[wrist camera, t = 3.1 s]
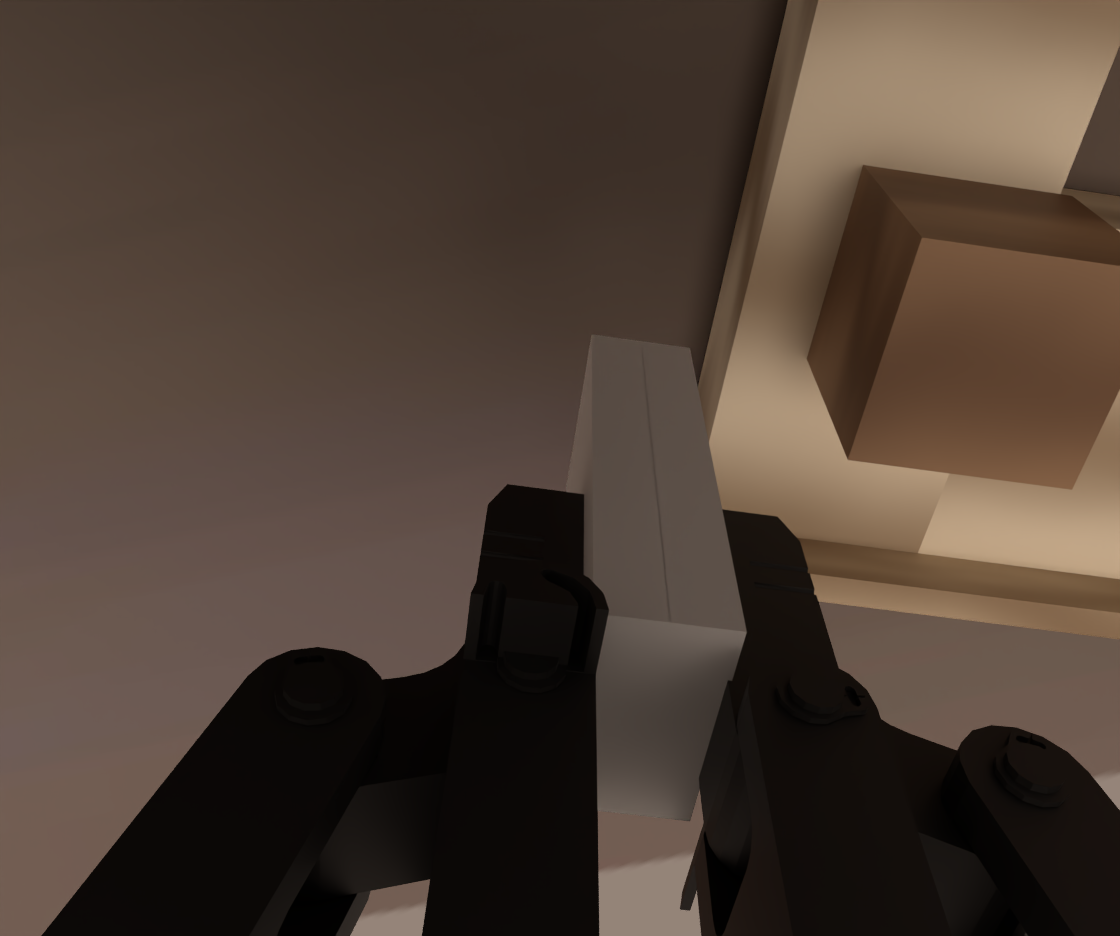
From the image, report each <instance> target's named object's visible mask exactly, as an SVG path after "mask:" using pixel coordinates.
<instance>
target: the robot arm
mask: <svg viewBox="0 0 1120 936" xmlns="http://www.w3.org/2000/svg"><path fill="white" fill-rule="evenodd" d="M814 591H815V589H814V585H813V582H812V579H811V576H810V573H808V566H807V562H806V559H805V556H804V552H803V549H802V546H801V543H800V541H799V540H798V539H797V537H796V536H795V535H794V534H793V533H792V532H791V531H790V530H789V529H788V527H787V526H786V525H785V524H784V523H783V522H782V521H781V520H780V519H779V518H778V516H770V515H762V514H755V513H747V512H739V511H731V510H724V509H722V506H721V501H720V496H719V491H718V486H717V481H716V476H715V471H714V466H713V461H712V456H711V451H710V446H709V441H708V436H707V431H706V426H705V421H704V416H703V411H702V406H701V401H700V396H699V391H698V386H697V381H696V376H695V371H694V366H693V361H692V356H691V351H690V348H688V347H681V346H674V345H666V344H659V343H652V342H644V341H637V340H630V339H623V338H615V337H608V336H601V335H593V334H592V335H591V341H590V347H589V353H588V359H587V365H586V371H585V377H584V383H583V389H582V395H581V401H580V407H579V413H578V419H577V425H576V431H575V437H574V443H573V449H572V455H571V461H570V467H569V473H568V479H567V485H566V492H563V491H555V490H547V489H540V488H532V487H524V486H517V485H509V484H507V485H506V486H505V488H504V489H503V490H502V491H501V492H500V493H499V494H498V495H497V496H496V497H495V498H494V499H493V500H492V501H491V502H490V503H489V504H488V508H487V515H486V522H485V528H484V535H483V541H482V548H481V555H480V561H479V568H478V574H477V581H476V584H475V586H474V588H473V590H472V592H471V597H470V606H469V614H468V623H467V631H466V640H465V644H464V645H463V646H462V648H461V649H460V650H459V651H458V653H457V654H456V655H455V656H454V657H453V658H451V659H450V660H448V661H447V662H446V663H444V664H443V665H441V666H439V667H437V668H434V669H432V670H430V671H427V672H425V673H421V674H416V675H411V676H407V677H400V678H392V679H384V680H382V679H381V677H380V676H379V675H378V673H377V672H376V671H375V670H374V669H373V668H372V667H371V666H370V665H369V664H368V663H367V662H366V661H364V660H362V659H360V658H358V657H356V656H354V655H352V654H349V653H347V652H345V651H340V650H334V649H327V648H320V647H315V648H307V649H298V650H290V651H288V652H285V653H283V654H281V655H278V656H276V657H273V658H271V659H268V660H266V661H265V662H264V663H262V664H261V665H260V666H259V667H258V668H257V669H255V670H254V671H253V672H252V673H251V674H250V675H248V676H247V678H246V679H245V680H244V681H243V683H242V684H241V685H240V686H239V688H238V689H237V690H236V692H235V693H234V694H233V695H232V697H231V698H230V699H229V700H228V702H227V703H226V704H225V705H224V707H223V708H222V709H221V710H220V712H219V713H218V714H217V715H216V717H215V718H214V719H213V720H212V722H211V723H210V724H209V726H208V727H207V728H206V729H205V731H204V732H203V733H202V734H201V736H200V737H199V738H198V739H197V741H196V742H195V743H194V744H193V746H192V747H191V748H190V749H189V751H188V752H187V753H186V754H185V756H184V757H183V758H182V760H181V761H180V762H179V763H178V765H177V766H176V767H175V768H174V770H173V771H172V772H171V773H170V775H169V776H168V777H167V778H166V780H165V781H164V782H163V783H162V785H161V786H160V787H159V788H158V790H157V791H156V792H155V794H154V795H153V796H152V797H151V799H150V800H149V801H148V802H147V804H146V805H145V806H144V807H143V809H142V810H141V811H140V812H139V814H138V815H137V816H136V817H135V819H134V820H133V821H132V822H131V824H130V825H129V826H128V828H127V829H126V830H125V831H124V833H123V834H122V835H121V836H120V838H119V839H118V840H117V841H116V843H115V844H114V845H113V846H112V848H111V849H110V850H109V851H108V853H107V854H106V855H105V856H104V858H103V859H102V860H101V862H100V863H99V864H98V865H97V867H96V868H95V869H94V870H93V872H92V873H91V874H90V875H89V877H88V878H87V879H86V880H85V882H84V883H83V884H82V885H81V887H80V888H79V889H78V890H77V892H76V893H75V894H74V896H73V897H72V898H71V899H70V901H69V902H68V903H67V904H66V906H65V907H64V908H63V909H62V911H61V912H60V913H59V914H58V916H57V917H56V918H55V919H54V921H53V922H52V923H51V924H50V926H49V927H48V928H47V929H46V931H45V932H44V933H43V935H42V936H350V935H351V933H352V931H353V929H354V927H355V925H356V923H357V921H358V919H359V917H360V915H361V913H362V911H363V909H364V907H365V905H366V903H367V901H368V898H369V894H370V891H371V890H376V889H382V888H387V887H392V886H397V885H402V884H407V883H412V882H418V881H423V880H428V879H430V885H429V892H428V898H427V905H426V912H425V919H424V925H423V933H422V936H599V891H598V890H599V886H598V811H604V812H613V813H622V814H631V815H640V816H649V817H657V818H666V819H675V820H684V821H690V819H691V816H692V813H693V809H694V806H695V803H696V799H697V796H698V793H699V789H700V794H701V803H702V811H703V820H704V824H703V827H702V830H701V833H700V837H699V840H698V843H697V846H696V850H695V853H694V856H693V859H692V862H691V866H690V869H689V872H688V876H687V878H686V882H685V885H684V888H683V892H682V899H681V906H680V909H681V910H690V909H691V906H692V903H693V900H694V897H695V894H696V891H697V895H698V905H699V915H700V926H701V935H702V936H1120V810H1119V809H1118V808H1117V807H1116V805H1115V804H1114V803H1113V802H1112V801H1111V799H1110V798H1109V797H1108V796H1107V794H1106V793H1105V792H1104V791H1103V789H1102V788H1101V787H1100V786H1099V784H1098V783H1097V782H1096V781H1095V780H1094V778H1093V777H1092V776H1091V775H1090V773H1089V772H1088V771H1087V770H1086V769H1085V768H1084V767H1083V766H1082V765H1081V764H1080V763H1079V762H1077V761H1076V760H1075V759H1074V758H1073V757H1072V756H1071V755H1070V754H1069V753H1068V752H1067V751H1065V750H1063V749H1062V748H1060V747H1058V746H1057V745H1055V744H1053V743H1052V742H1050V741H1048V740H1047V739H1045V738H1044V737H1041V736H1039V735H1036V734H1033V733H1030V732H1027V731H1024V730H1021V729H1019V728H1015V727H1004V726H993V725H991V726H987V727H984V728H980V729H976V730H973V731H972V732H971V733H970V734H969V735H968V736H967V737H966V738H965V739H964V740H963V741H962V742H961V744H960V746H959V748H958V750H957V751H956V750H954V749H951V748H948V747H945V746H943V745H940V744H937V743H934V742H931V741H929V740H926V739H923V738H920V737H917V736H915V735H912V734H909V733H907V732H905V731H903V730H900V729H898V728H896V727H894V726H891V725H889V724H888V723H886V722H885V721H883V720H881V718H880V715H879V712H878V709H877V707H876V705H875V703H874V702H873V700H872V698H871V696H870V695H869V693H868V691H867V690H866V689H865V688H864V687H863V686H862V685H861V684H860V683H859V682H857V681H856V680H855V679H854V678H853V677H852V676H851V675H850V674H848V673H846V672H844V671H843V670H841V669H839V668H838V665H837V662H836V658H835V655H834V652H833V648H832V645H831V642H830V638H829V635H828V632H827V628H826V625H825V622H824V619H823V615H822V612H821V609H820V605H819V602H818V599H817V595H814Z"/></svg>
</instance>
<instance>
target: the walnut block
mask: <svg viewBox="0 0 1120 936" xmlns="http://www.w3.org/2000/svg"><path fill="white" fill-rule="evenodd" d="M807 361H808V364H809V366H810V368H811V371H812V373H813V376H814V378H815V381H816V383H817V386H818V388H819V391H820V393H821V396H822V398H823V400H824V403H825V405H826V408H827V410H828V413H829V415H830V418H831V420H832V423H833V425H834V427H835V430H836V432H837V435H838V437H839V440H840V442H841V445H842V447H843V450H844V452H845V454H846V457H847V459H848V460H851V461H859V462H867V463H874V464H882V465H889V466H897V467H904V468H912V469H919V470H927V471H934V472H942V473H949V474H957V475H964V476H972V477H979V478H987V479H994V480H1002V481H1009V482H1017V483H1024V484H1032V485H1039V486H1047V487H1055V488H1062V489H1070V490H1072V489H1073V487H1074V485H1075V483H1076V481H1077V478H1078V476H1079V474H1080V472H1081V470H1082V468H1083V466H1084V464H1085V462H1086V460H1087V457H1088V455H1089V453H1090V451H1091V449H1092V447H1093V445H1094V443H1095V441H1096V439H1097V436H1098V434H1099V432H1100V430H1101V428H1102V426H1103V424H1104V422H1105V420H1106V418H1107V415H1108V413H1109V411H1110V409H1111V407H1112V405H1113V403H1114V401H1115V399H1116V397H1117V394H1118V392H1119V390H1120V232H1119V231H1118V230H1116V229H1115V228H1114V227H1112V226H1111V225H1110V224H1108V223H1107V222H1106V221H1104V220H1103V219H1102V218H1101V217H1099V216H1098V215H1097V214H1095V213H1094V212H1093V211H1091V210H1090V209H1089V208H1087V207H1086V206H1085V205H1083V204H1082V203H1081V202H1080V201H1078V200H1077V199H1076V198H1074V197H1073V196H1070V195H1063V194H1056V193H1050V192H1043V191H1036V190H1029V189H1023V188H1016V187H1009V186H1002V185H996V184H989V183H982V182H975V181H968V180H962V179H955V178H948V177H941V176H935V175H928V174H921V173H914V172H907V171H901V170H894V169H887V168H880V167H874V166H867V165H863V167H862V170H861V174H860V177H859V181H858V184H857V188H856V191H855V194H854V198H853V201H852V205H851V208H850V212H849V215H848V219H847V222H846V225H845V229H844V232H843V236H842V239H841V243H840V246H839V249H838V253H837V256H836V260H835V263H834V267H833V270H832V273H831V277H830V280H829V284H828V287H827V291H826V294H825V297H824V301H823V304H822V308H821V311H820V315H819V318H818V322H817V325H816V328H815V332H814V335H813V339H812V342H811V346H810V349H809V352H808V356H807Z"/></svg>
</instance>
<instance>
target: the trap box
mask: <svg viewBox="0 0 1120 936" xmlns="http://www.w3.org/2000/svg"><path fill="white" fill-rule="evenodd" d="M1119 46H1120V0H788V3H787V7H786V11H785V16H784V20H783V24H782V29H781V33H780V37H779V41H778V46H777V50H776V54H775V58H774V63H773V67H772V71H771V76H770V80H769V84H768V88H767V93H766V97H765V101H764V106H763V110H762V114H761V118H760V123H759V127H758V131H757V136H756V140H755V144H754V148H753V153H752V157H751V161H750V166H749V170H748V174H747V178H746V183H745V187H744V191H743V195H742V200H741V204H740V208H739V213H738V217H737V221H736V225H735V230H734V234H733V238H732V243H731V247H730V251H729V255H728V260H727V264H726V268H725V273H724V277H723V281H722V285H721V290H720V294H719V298H718V303H717V307H716V311H715V315H714V320H713V324H712V328H711V333H710V337H709V341H708V345H707V350H706V354H705V358H704V362H703V367H702V371H701V375H700V380H699V384H698V391H699V396H700V401H701V406H702V411H703V416H704V421H705V426H706V431H707V436H708V441H709V446H710V451H711V456H712V461H713V466H714V471H715V476H716V481H717V486H718V491H719V496H720V501H721V506H722V509H724V510H731V511H739V512H747V513H755V514H762V515H770V516H778V518H779V519H780V520H781V521H782V522H783V523H784V524H785V525H786V526H787V527H788V529H789V530H790V531H791V532H792V533H793V534H794V535H795V536H796V537H797V539H798V540H799V541H800V543H801V546H802V549H803V552H804V556H805V559H806V562H807V566H808V573H810V576H811V579H812V582H813V585H814V589H815V591H814V595H817V599H818V601H820V602H828V603H836V604H844V605H852V606H860V607H867V608H875V609H883V610H891V611H899V612H907V613H915V614H923V615H931V616H939V617H947V618H955V619H963V620H971V621H979V622H987V623H995V624H1003V625H1011V626H1018V627H1026V628H1034V629H1042V630H1050V631H1058V632H1066V633H1074V634H1082V635H1090V636H1098V637H1106V638H1114V639H1120V390H1119V392H1118V394H1117V397H1116V399H1115V401H1114V403H1113V405H1112V407H1111V409H1110V411H1109V413H1108V415H1107V418H1106V420H1105V422H1104V424H1103V426H1102V428H1101V430H1100V432H1099V434H1098V436H1097V439H1096V441H1095V443H1094V445H1093V447H1092V449H1091V451H1090V453H1089V455H1088V457H1087V460H1086V462H1085V464H1084V466H1083V468H1082V470H1081V472H1080V474H1079V476H1078V478H1077V481H1076V483H1075V485H1074V487H1073V489H1072V490H1070V489H1062V488H1055V487H1047V486H1039V485H1032V484H1024V483H1017V482H1009V481H1002V480H994V479H987V478H979V477H972V476H964V475H957V474H949V473H942V472H934V471H927V470H919V469H912V468H904V467H897V466H889V465H882V464H874V463H867V462H859V461H851V460H848V459H847V457H846V454H845V452H844V450H843V447H842V445H841V442H840V440H839V437H838V435H837V432H836V430H835V427H834V425H833V423H832V420H831V418H830V415H829V413H828V410H827V408H826V405H825V403H824V400H823V398H822V396H821V393H820V391H819V388H818V386H817V383H816V381H815V378H814V376H813V373H812V371H811V368H810V366H809V364H808V361H807V356H808V352H809V349H810V346H811V342H812V339H813V335H814V332H815V328H816V325H817V322H818V318H819V315H820V311H821V308H822V304H823V301H824V297H825V294H826V291H827V287H828V284H829V280H830V277H831V273H832V270H833V267H834V263H835V260H836V256H837V253H838V249H839V246H840V243H841V239H842V236H843V232H844V229H845V225H846V222H847V219H848V215H849V212H850V208H851V205H852V201H853V198H854V194H855V191H856V188H857V184H858V181H859V177H860V174H861V170H862V167H863V165H867V166H874V167H880V168H887V169H894V170H901V171H907V172H914V173H921V174H928V175H935V176H941V177H948V178H955V179H962V180H968V181H975V182H982V183H989V184H996V185H1002V186H1009V187H1016V188H1023V189H1029V190H1036V191H1043V192H1050V193H1056V194H1063V195H1070V196H1073V197H1074V198H1076V199H1077V200H1078V201H1080V202H1081V203H1082V204H1083V205H1085V206H1086V207H1087V208H1089V209H1090V210H1091V211H1093V212H1094V213H1095V214H1097V215H1098V216H1099V217H1101V218H1102V219H1103V220H1104V221H1106V222H1107V223H1108V224H1110V225H1111V226H1112V227H1114V228H1115V229H1116V230H1118V231H1119V232H1120V196H1115V195H1108V194H1101V193H1094V192H1088V191H1081V190H1074V189H1067V188H1063V187H1064V184H1065V182H1066V179H1067V177H1068V174H1069V172H1070V169H1071V167H1072V164H1073V162H1074V159H1075V156H1076V154H1077V151H1078V149H1079V146H1080V144H1081V141H1082V139H1083V136H1084V134H1085V131H1086V129H1087V126H1088V124H1089V121H1090V119H1091V116H1092V114H1093V111H1094V109H1095V106H1096V104H1097V101H1098V99H1099V96H1100V94H1101V91H1102V89H1103V86H1104V84H1105V81H1106V79H1107V76H1108V73H1109V71H1110V68H1111V66H1112V63H1113V61H1114V58H1115V56H1116V53H1117V51H1118V48H1119Z"/></svg>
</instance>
